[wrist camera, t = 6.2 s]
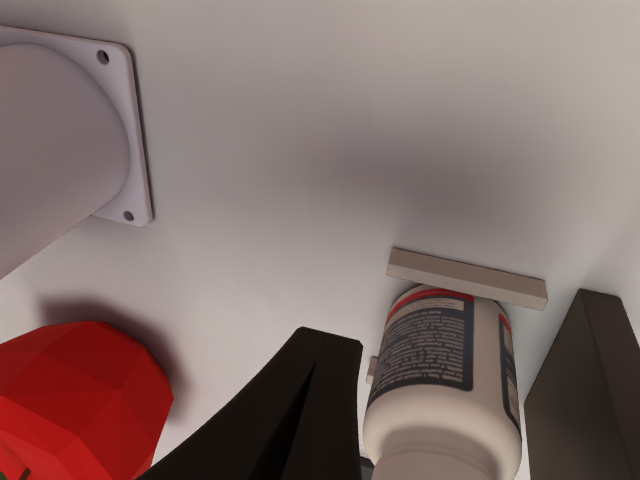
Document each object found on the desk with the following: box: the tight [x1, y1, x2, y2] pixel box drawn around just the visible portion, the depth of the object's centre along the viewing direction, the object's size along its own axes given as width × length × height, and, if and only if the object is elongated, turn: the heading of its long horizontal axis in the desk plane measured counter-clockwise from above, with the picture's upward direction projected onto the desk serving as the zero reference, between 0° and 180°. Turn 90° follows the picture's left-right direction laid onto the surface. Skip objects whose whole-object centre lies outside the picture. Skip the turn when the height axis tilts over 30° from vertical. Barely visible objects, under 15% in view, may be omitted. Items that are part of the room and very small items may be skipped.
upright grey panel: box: [366, 248, 640, 480], centre depth 17 cm, size 9×7×10 cm
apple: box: [0, 321, 174, 480], centre depth 25 cm, size 11×11×10 cm
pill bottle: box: [363, 284, 522, 480], centre depth 18 cm, size 5×5×9 cm
